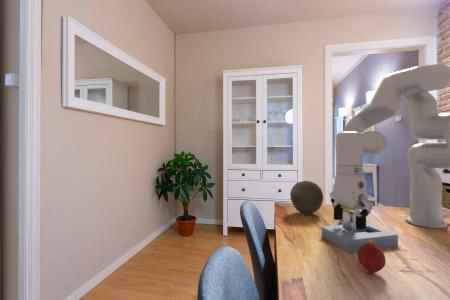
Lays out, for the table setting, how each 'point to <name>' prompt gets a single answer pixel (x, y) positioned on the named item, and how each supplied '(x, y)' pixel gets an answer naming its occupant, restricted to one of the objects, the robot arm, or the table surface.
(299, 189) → the dark brown ball
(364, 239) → the keyhole plate
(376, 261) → the onion
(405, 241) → the table surface
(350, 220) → the stud
